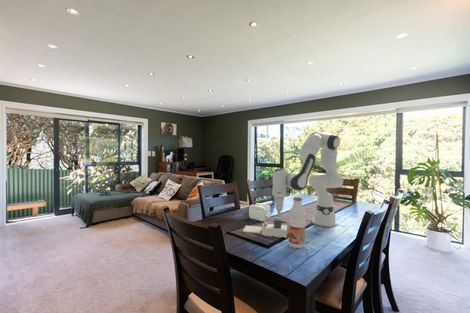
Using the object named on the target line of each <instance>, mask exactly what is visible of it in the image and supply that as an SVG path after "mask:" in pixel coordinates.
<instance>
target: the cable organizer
mask: <svg viewBox="0 0 470 313" xmlns="http://www.w3.org/2000/svg"><path fill="white" fill-rule="evenodd" d="M248 209H249V210H248V217H249V218H250V219H251V220H254V219H255V220H256V221H258V220H259V222H264V213H265V211H268V217H267V220H268V219H270V217H271V206H270V205H269V204H266V203H260V202H256V203H255V204H250V205H249V206H248Z"/></svg>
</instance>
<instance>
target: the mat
mask: <svg viewBox="0 0 470 313" xmlns="http://www.w3.org/2000/svg"><path fill="white" fill-rule="evenodd" d="M261 230H262V226H256V225H247V224H246V225H245V226H244V228H243V229H242V233H245V232H246V234H255V233H258V234H259V235H262V231H261ZM258 234H257V235H258Z"/></svg>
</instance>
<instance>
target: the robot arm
mask: <svg viewBox="0 0 470 313" xmlns="http://www.w3.org/2000/svg"><path fill="white" fill-rule="evenodd" d="M340 143H341V139H340V137H339V135H337V134H333V133H330V132H329V133H328V132H318V131H316V132H315V131H314V132H312V133H311V134H310V135H309V136H307V138H306V139H305V141H304V142H303V144H302V146H301V147H300V149H299V153H298V155H299V156H300V158H301V160H303V163H302V165H301V168H300V170H299V172H298V173H297V174H296V173H292V172H290V171H288V170H286V168H277V169H275V170H274V171H273V174H272V190H271V192H272V195H271V196H272V197H273V199H274V203H275V210H276V212H277V217H281V211H283V207H284V200H285V198H286V197H287V188H289V189H292V190H295V191H296V192H301V191H303V190H305V189H306V187H307V185H308V183H309V186H311V187H312V188H313V189H314V190H315V192H316V196H317V204H316V209H315V212H312V213H313V217H312V220H311V223H312V224H314V225H318V226H321V227H335V226H338V225H339V224H338V222H337V221H336V213H335V212H334V196H333V194H332V193H330V192H328V191H327V189H328V188H330V189H331V188H332V189H336V188H340V187H342V186H343V184H344V177H343V176H342V175H341V174H340V172H338V170H337V157H338V147H340ZM320 149H321V151H320ZM319 151H320V152H321V153H320V160H319V165H320V167H321V168H322V169H323V170H325V171H326V172H325V173H321V172H319V173H312V174H311V172H312V169H313V167H314V165H315V162H316V156H317V154H318V152H319Z"/></svg>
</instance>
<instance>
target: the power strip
mask: <svg viewBox="0 0 470 313" xmlns="http://www.w3.org/2000/svg"><path fill="white" fill-rule="evenodd" d="M261 227H262V231H261V236H262V235H264V236H263V237H272V236H275V238H282V237H284V239H287V238H288V226H287V225H283V224H281V228H274V223H273V224H270V223H267V226H264V223H262V226H261Z"/></svg>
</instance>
